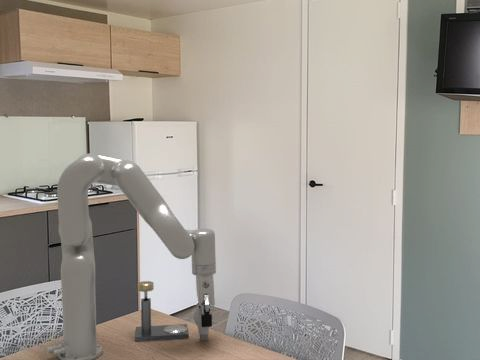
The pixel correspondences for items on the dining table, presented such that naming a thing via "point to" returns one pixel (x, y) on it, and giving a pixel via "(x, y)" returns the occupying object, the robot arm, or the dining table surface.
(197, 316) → the lightbulb
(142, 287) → the brass knob
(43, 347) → the dining table surface
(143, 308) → the metal press stand
